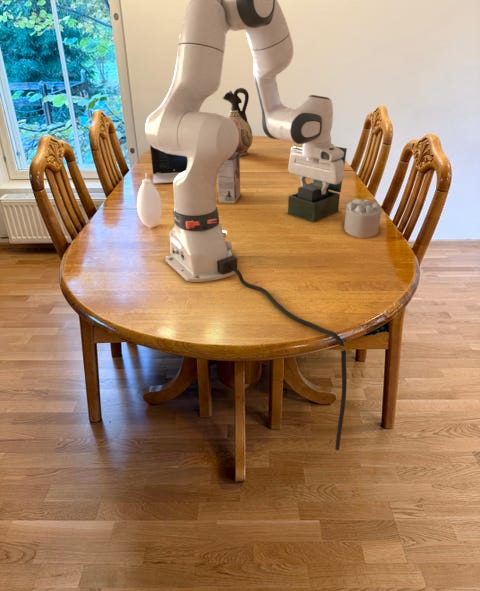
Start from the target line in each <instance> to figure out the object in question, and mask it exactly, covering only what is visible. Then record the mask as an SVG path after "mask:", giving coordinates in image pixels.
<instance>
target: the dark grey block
mask: <svg viewBox="0 0 480 591" xmlns="http://www.w3.org/2000/svg"><path fill="white" fill-rule="evenodd" d="M307 184H308V185H305V186H302V185H301V186H299V187H298V188H297V193H298V198H300V199H304V200H307V201H311V202H313V201H315V200H318V199H320V198H323V197H325V196H328V193H329V191H330V190H329V186H328V187H327V189H326V193H325V194H324V195H322V194H319V192H320V191H319V189H320V188H322V187H323V184H321V183H317V182H314V181H313V182H311V183H307Z"/></svg>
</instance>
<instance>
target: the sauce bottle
mask: <svg viewBox="0 0 480 591" xmlns="http://www.w3.org/2000/svg"><path fill="white" fill-rule="evenodd" d="M136 210H137V215H138V217H139V219H140V221H141V223H142V224H143V225H145V226H146V227H148V228H151V229H153V228H155V227H157V226H158V225H159V224H160V222H161V220H162V217H163V203H162V199H161V195H160V193H159V191H158V189H157V187H156V186H155V184H154V183H153V182H152V180H151V179H150V178H148V173H147V171H145V178H144V179H142V183H141V184H140V187H139V189H138V193H137V198H136Z"/></svg>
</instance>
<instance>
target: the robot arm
mask: <svg viewBox="0 0 480 591" xmlns="http://www.w3.org/2000/svg"><path fill="white" fill-rule="evenodd" d="M243 30H244V31H245V35H246V37H247V42H248V45H249V48H250V52H251V55H252V59H253V65H252V71H253V72H252V73H253V78H254V83H255V88H256V93H257V96H258V100H259V105H260V109H261V110H260V111H261V125H262V126H261V127H262V130H263V132H264V134H265V135H266V137H268V138H269V139H271V140H279V141H284V142H287V143H290V144H291V143H292V144H295V145H294V146H291V148H290V151H289V152H290V155H289V159H288V166H287V170H288V172H289V174H291V175H296V176H298V179H299V181H300V184H301V187H302V186H305V185H308V184H309V183H307V178H308V179H311V180H314V179H315V180H319V181H323V182H322V184H323V187H322V188H320V189H319V191H320V192H319V194H322V195H324V194H325V193H326V189H327V187H328V186H329V184H330V183H331V184H338V183H341V182H342V183H343V181H344V176H345V165H344V162H343V160H342V159H341V158H342V157H343V156H344V152H343V151H342V150H341V149H339V148H337V147H338V146H337V147H336V145H334V143H332V136H331V131H332V128H333V121H334V120H333V119H334V106H333V101H332V99H330V98H329V97H327V96H321V95H315V94H310V95H307V97H306V100H305V101H304V102H303V103H302V104H301V105H299V106H297V107H296V108H292V107H288V106H285V105H284V103H283V102H282V101H281V99H280V93H279V89H278V83H277V75H279V74H281V73H282V72H283V71H284V70H286V69H287V68H288V67H289V65H290V64H291V62H292V60H293V57H294V44H293V39H292V36H291V32H290V29H289V26H288V23H287V20H286V17H285V14H284V12H283V10H282V7H281V5H280V3H279V1H278V0H190V1H189V2H188V4H187V5H186V7H185V11H184V14H183V18H182V22H181V27H180V32H179V37H178V44H177V51H176V52H177V54H176V61H175V69H174V74H173V78H172V83H171V85H170V88H169V89H168V90H169V91H168V93H167V95H166V97H164V99H163V101H162V103H161V104H160V106H159V107H158V108H156V109H155V110H154V111H153V112H151V113H150V114H149V116H148V117H147V119H146V121H145V122H146V123H145V126H144V130H145V132H144V133H145V138H146V140H147V142H148V144H149V146H150V145H151V146H152V147H153V148H155V149H158V150H160V151H162V152H165V153H167V154H173V155H179V156H186V157H187V169H186V170H185V171H183V172H182V173H180V174H179V175H178V176H177V177H176V178H175V180H174V182H173V183H172V192H173V203H174V208H173V214H172V215H173V217H172V218H173V223H174V226H173V227H172V229H171V230H170V231H169V248H170V249H169V250H170V254H168V255H166V256H165V259H164V260H165V263H167V265H168V266H170V267H171V268H172V269H173V270H174V271H175V272H176V273H177V274H178V275H179V276H181V278H183V279H184V280H185V281H186V282H189V283H202V282H203V283H204V282H212V281H218V280H222V279H226V278H229V277H232V276H234V275H237V277H238V280H239V282H240V283H241V284H242V285H243V286H245V287H247V288H249V289H253V290H256V291H259V292H261V293H263V295H265V296H266V297H267V298H268V299H269V302H271V303H272V304H273V306H275V307H276V308H277V309H278V310H279V311H280V312H282V313H283V314H284V315H285V316H287V317H288V318H290V319H291V320H293V321H295V322H297V323H299V324H301V325H304V326H306V327H309V328H310V329H313V330H315V331H318V332H320V333H322V334H325V335H328V336H331V337H332V338H333V339H334V340H335V341H336V342H337V343H338V345H339V346H340V347H344V346H345V343H344V340H342V338H341V337H340V335H339V334H337V333H336V332H335V331H333V330H330V329H326V328H324V327H322V326H319V325H317V324H315V323H312V322H310V321H307V320H305V319H303V318H301V317H298V316H296V315H294V314H293V313H291V312H290V311H289V310H287V309H286V308H285V307H283V306H282V305H281V304H280V303H279V302H278V301H276V299H275V298H274V297H273V295H272V294H271V293H270V292H269V291H268V290H267V289H265V288H263V287H262V286H259V285H255V284H251V283H249V282H247V281H246V280H245V279H244V277H243V274H242V273H241V271H240V270H239V269H238V257H236V256H235V255H233V253H232V249H233V248H232V245H233V244H232V241H230V240H228V241H227V240H226V239H225V238H227V234H228V231H227V230H223V225H222V223H220V213H219V208H218V206H217V180H218V172H219V170H220V168H221V166H222V164H223V163H224V162H225V161H226V160H227V159H229V158H230V157H231V156H232V155H233V154H234V152H235V151H236V149H237V146H238V143H239V133H238V129H237V126H236V124H235V123H234V121H233V120H231V119H229V118H227V116H224V115H221V114H218V113H216V112H205V111H200V109H201V107H202V105H203V103H205V101H206V100H207V99H208V98H209V97H211V96H213V95H215V93H216V92H218V90H219V88H220V87H221V86H220V85H221V83H222V82H221V81H222V73H223V66H224V59H225V50H226V39H227V33H228V32H229V31H232V32H236V31H237V32H238V31H243ZM301 145H302V146H301ZM340 355H341V356H340V357H341V364H340V365H341V397H340V398H341V399H340V406H339V407H340V408H339V415H338V423H337V430H336V437H335V446H334V447H335V448H334V449H335V450H336V451H340V446H341V438H342V430H343V429H342V428H343V422H344V417H345V408H346V401H347V350H345V349H344V350H341V351H340Z"/></svg>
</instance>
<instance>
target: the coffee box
mask: <svg viewBox="0 0 480 591" xmlns="http://www.w3.org/2000/svg"><path fill="white" fill-rule="evenodd" d="M240 158H241V156H239V153H237V152H234V154H233V155H232V156H231V157H230V158H229V159H227V160H226V161H225V162H224V163H223V164H222V166H221V168H220V170H219V172H218V175H217V195H218V196H217V197H218V203H225V204H236V202H237V201H238V200H239V198H240V196H241V171H240V170H241V167H240V166H241V165H240V160H241V159H240Z"/></svg>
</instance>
